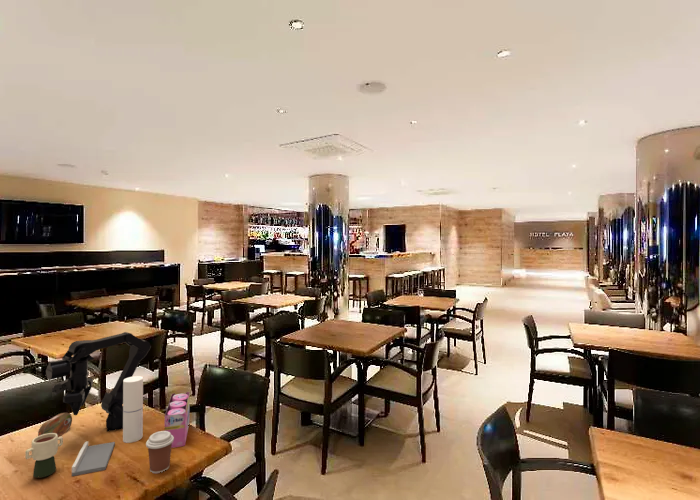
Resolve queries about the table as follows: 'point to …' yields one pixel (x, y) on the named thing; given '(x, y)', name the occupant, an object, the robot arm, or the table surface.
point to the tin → (56, 425)
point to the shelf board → (92, 458)
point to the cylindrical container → (132, 409)
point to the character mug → (44, 453)
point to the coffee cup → (159, 451)
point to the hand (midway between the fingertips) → (78, 410)
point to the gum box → (178, 418)
